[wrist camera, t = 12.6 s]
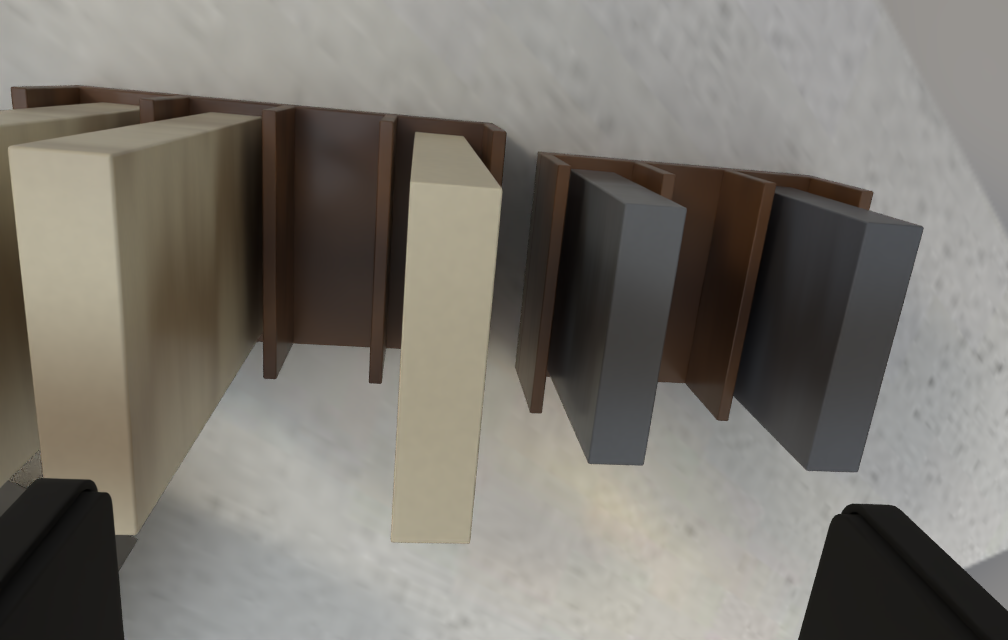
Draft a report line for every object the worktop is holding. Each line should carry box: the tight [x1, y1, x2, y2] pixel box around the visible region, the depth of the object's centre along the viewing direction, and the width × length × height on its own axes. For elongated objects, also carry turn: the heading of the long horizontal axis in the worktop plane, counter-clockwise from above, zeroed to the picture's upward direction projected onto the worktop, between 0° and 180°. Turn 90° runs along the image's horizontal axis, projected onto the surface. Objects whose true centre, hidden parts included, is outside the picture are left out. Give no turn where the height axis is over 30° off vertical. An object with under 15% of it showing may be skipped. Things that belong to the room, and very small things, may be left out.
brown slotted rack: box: [515, 152, 923, 472], centre depth 29 cm, size 10×12×10 cm
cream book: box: [391, 132, 503, 544], centre depth 24 cm, size 9×2×15 cm, turn 175°
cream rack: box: [0, 85, 506, 535], centre depth 24 cm, size 10×16×16 cm, turn 85°
